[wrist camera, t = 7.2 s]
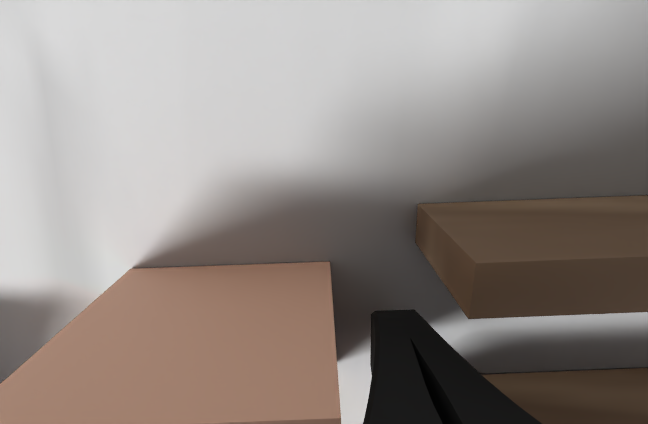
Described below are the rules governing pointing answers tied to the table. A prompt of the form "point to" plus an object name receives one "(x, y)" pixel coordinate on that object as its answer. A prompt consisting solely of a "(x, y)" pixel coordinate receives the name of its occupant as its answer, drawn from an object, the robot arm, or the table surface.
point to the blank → (190, 352)
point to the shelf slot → (548, 286)
